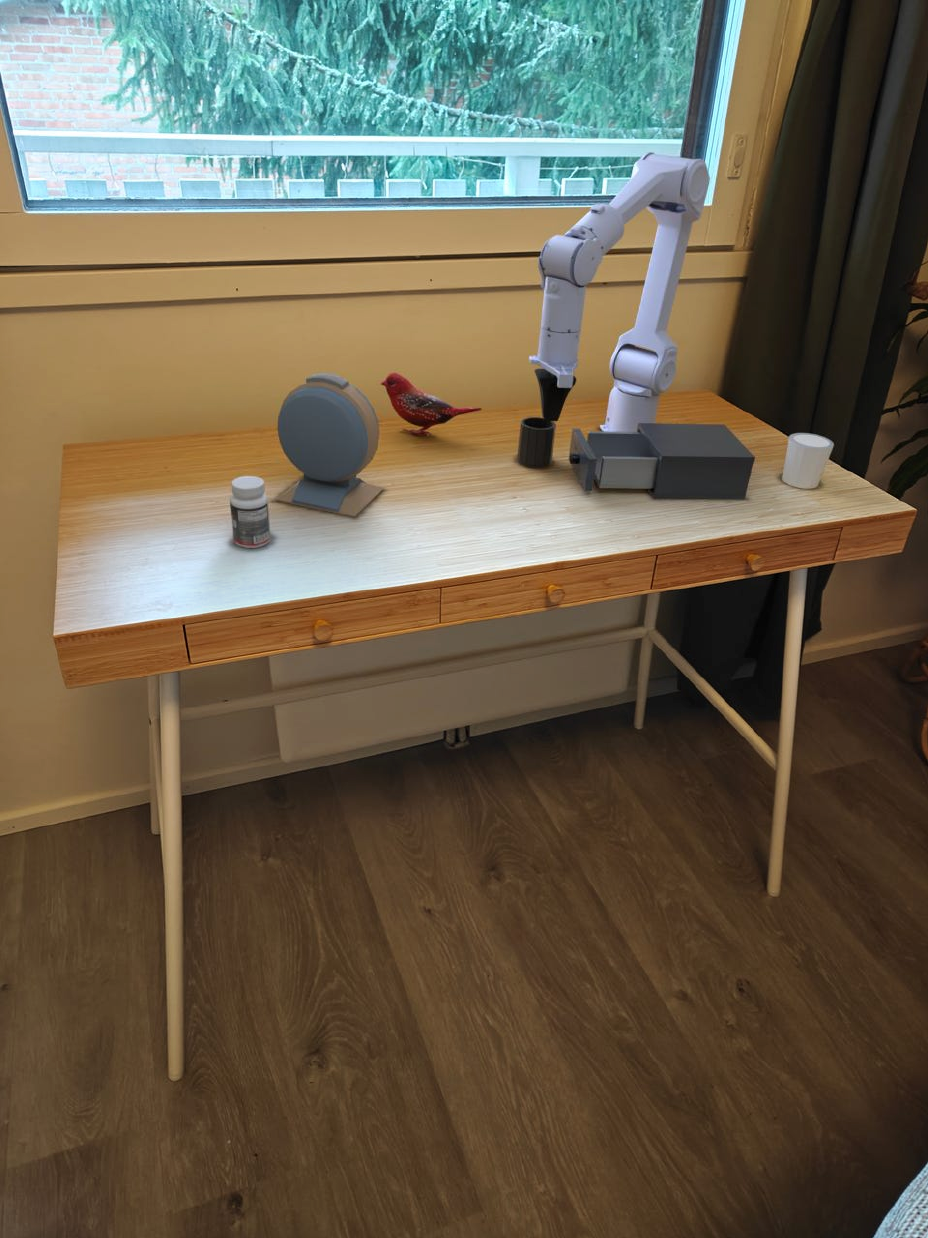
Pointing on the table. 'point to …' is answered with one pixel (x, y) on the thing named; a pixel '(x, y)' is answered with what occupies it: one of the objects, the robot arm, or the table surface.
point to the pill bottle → (249, 512)
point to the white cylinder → (806, 459)
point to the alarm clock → (329, 444)
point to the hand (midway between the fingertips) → (550, 419)
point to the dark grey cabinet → (698, 461)
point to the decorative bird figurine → (419, 404)
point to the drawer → (613, 459)
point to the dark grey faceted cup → (536, 442)
